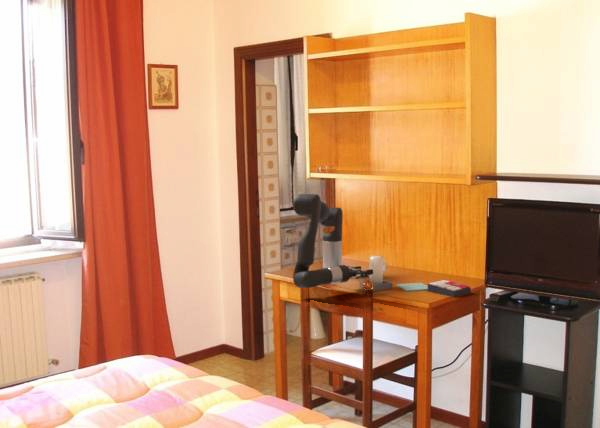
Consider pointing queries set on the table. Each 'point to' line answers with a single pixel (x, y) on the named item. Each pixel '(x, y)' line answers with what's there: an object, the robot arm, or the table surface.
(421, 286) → the coaster pad
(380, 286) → the holder
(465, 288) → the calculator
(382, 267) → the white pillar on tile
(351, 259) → the table surface
